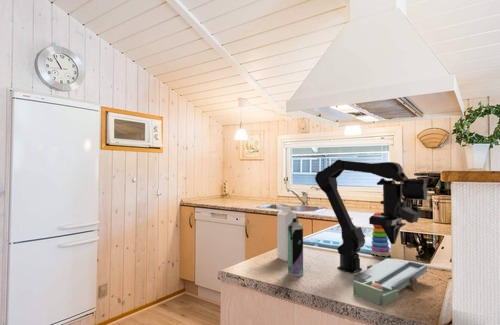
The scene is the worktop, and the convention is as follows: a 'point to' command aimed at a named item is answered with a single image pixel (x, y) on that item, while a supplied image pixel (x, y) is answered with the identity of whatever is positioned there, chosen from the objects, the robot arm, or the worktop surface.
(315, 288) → the worktop surface
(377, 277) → the grey flat rectangular piece
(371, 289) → the tray
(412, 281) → the stand
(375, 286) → the ball
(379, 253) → the stacking toy
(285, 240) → the milk
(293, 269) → the spray can
